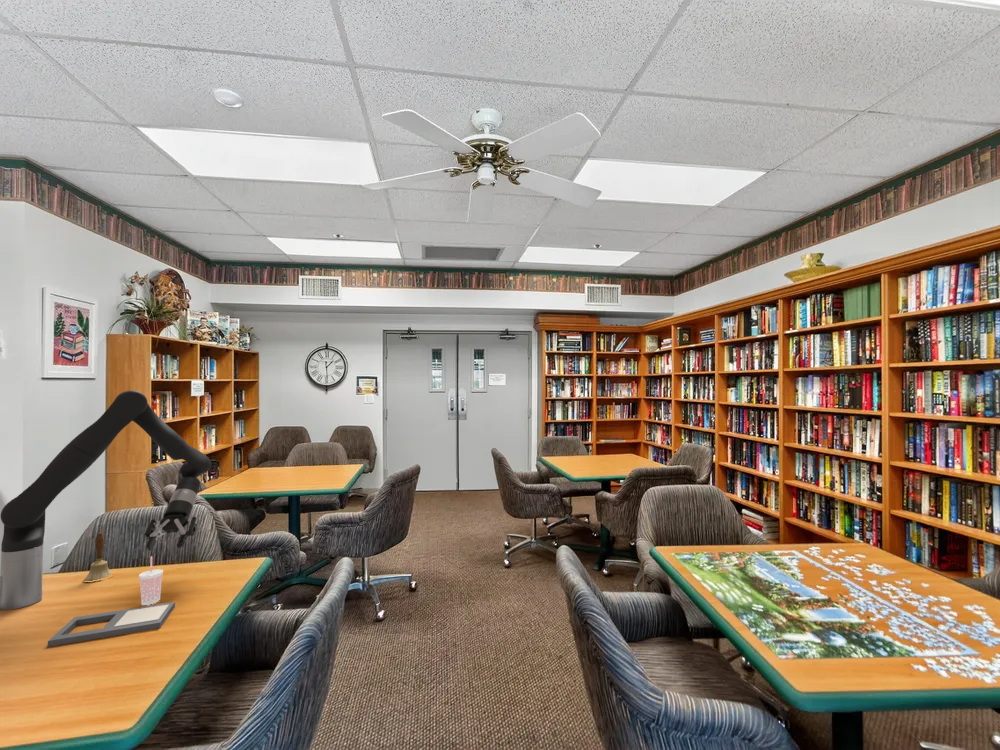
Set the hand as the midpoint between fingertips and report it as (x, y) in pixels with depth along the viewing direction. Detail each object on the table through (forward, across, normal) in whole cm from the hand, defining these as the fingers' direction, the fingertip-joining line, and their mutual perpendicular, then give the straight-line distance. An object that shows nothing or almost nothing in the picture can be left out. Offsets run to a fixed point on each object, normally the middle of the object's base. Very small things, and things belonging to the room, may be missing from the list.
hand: (164, 548), depth 152 cm
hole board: (+26, -2, -6) cm, 26 cm away
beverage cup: (+16, 0, +5) cm, 16 cm away
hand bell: (-4, -30, +24) cm, 38 cm away
